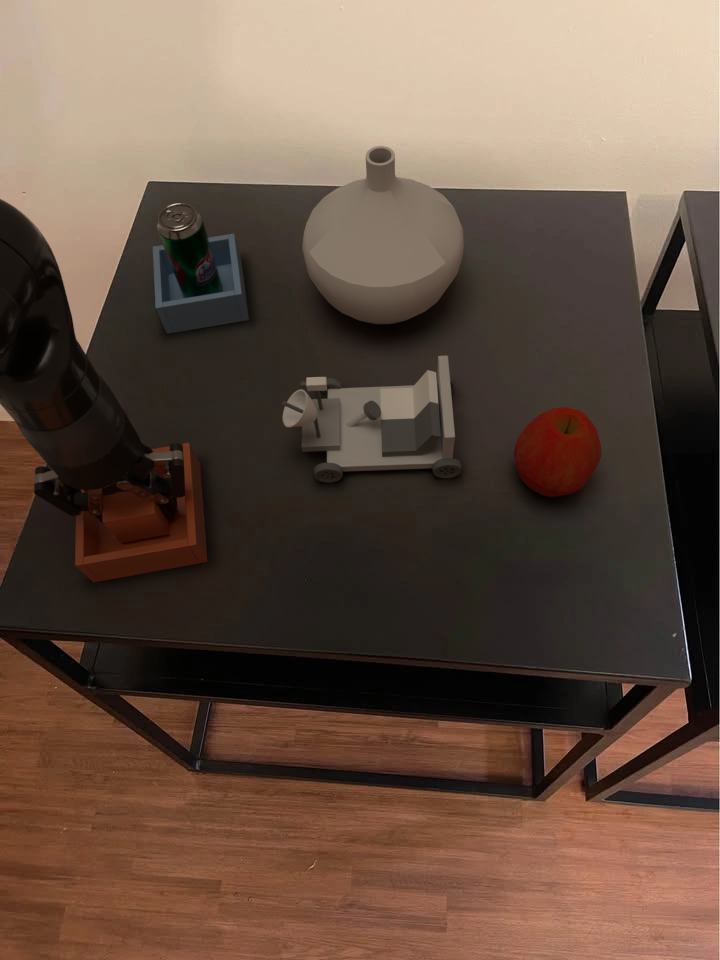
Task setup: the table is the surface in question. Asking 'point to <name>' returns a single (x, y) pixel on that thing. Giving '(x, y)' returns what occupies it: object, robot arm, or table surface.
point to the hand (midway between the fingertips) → (142, 515)
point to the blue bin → (203, 308)
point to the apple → (558, 452)
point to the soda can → (189, 250)
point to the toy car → (377, 425)
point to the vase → (383, 244)
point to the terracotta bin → (179, 548)
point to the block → (133, 517)
